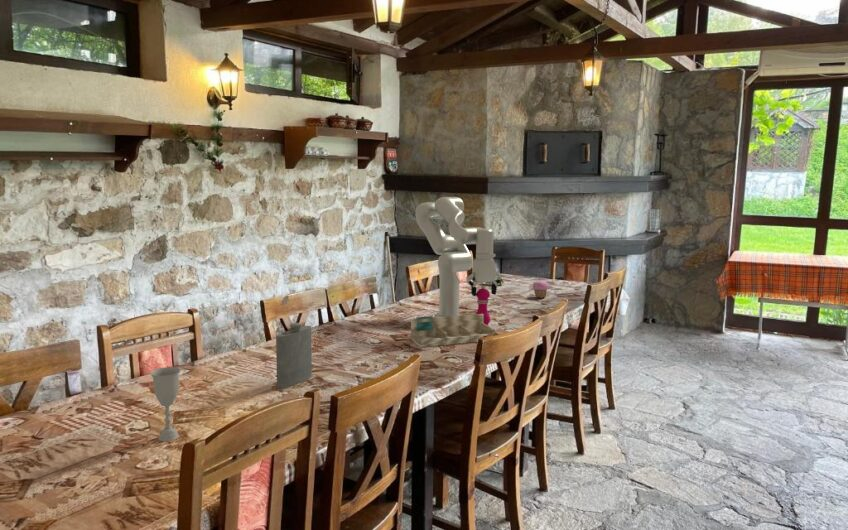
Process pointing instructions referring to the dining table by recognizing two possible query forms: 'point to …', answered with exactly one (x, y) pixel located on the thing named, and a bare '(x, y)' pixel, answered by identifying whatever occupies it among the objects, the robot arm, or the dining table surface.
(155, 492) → the dining table surface
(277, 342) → the hip flask
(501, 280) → the passion flower
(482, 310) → the pepper mill
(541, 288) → the cupcake
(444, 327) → the rack
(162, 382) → the chalice
